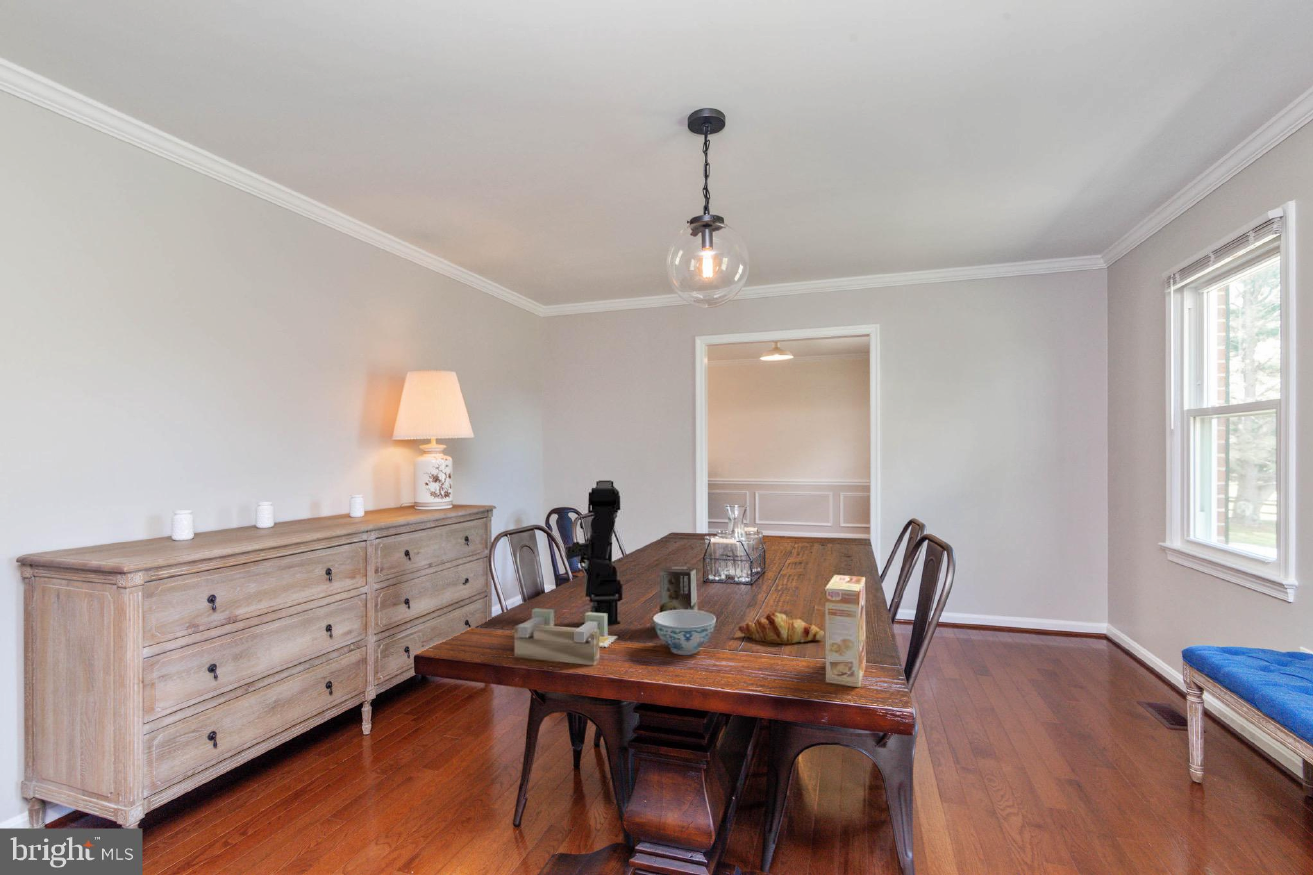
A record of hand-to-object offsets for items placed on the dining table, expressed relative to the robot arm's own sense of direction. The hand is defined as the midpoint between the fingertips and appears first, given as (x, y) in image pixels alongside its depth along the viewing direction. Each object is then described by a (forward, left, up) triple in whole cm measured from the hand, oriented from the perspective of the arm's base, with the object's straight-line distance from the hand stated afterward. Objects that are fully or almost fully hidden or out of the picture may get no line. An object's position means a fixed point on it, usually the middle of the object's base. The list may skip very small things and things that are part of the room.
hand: (587, 596), depth 158 cm
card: (0, +1, -11) cm, 11 cm away
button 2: (+6, +13, -7) cm, 16 cm away
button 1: (+15, +3, -7) cm, 17 cm away
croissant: (-41, +26, -11) cm, 50 cm away
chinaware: (-16, +20, -11) cm, 28 cm away
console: (+12, +10, -11) cm, 19 cm away
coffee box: (-24, +5, -11) cm, 27 cm away
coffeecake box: (-37, +51, -11) cm, 64 cm away
